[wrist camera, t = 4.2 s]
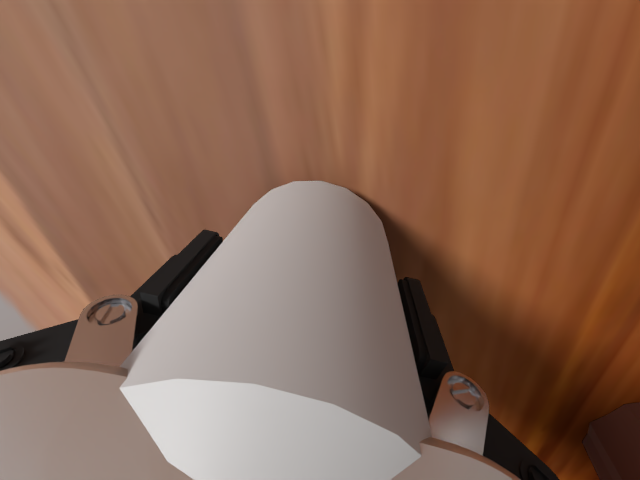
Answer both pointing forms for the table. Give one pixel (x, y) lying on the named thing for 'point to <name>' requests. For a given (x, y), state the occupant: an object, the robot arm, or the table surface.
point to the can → (286, 351)
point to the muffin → (616, 444)
